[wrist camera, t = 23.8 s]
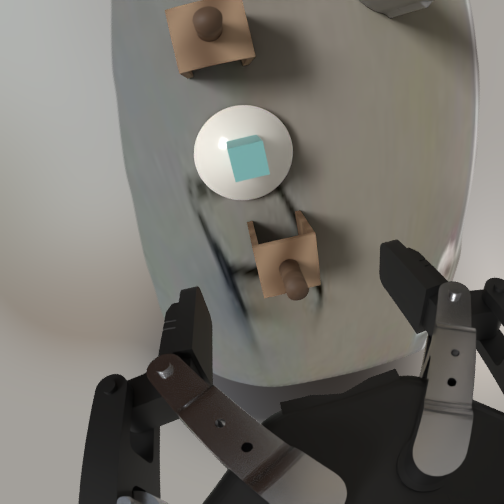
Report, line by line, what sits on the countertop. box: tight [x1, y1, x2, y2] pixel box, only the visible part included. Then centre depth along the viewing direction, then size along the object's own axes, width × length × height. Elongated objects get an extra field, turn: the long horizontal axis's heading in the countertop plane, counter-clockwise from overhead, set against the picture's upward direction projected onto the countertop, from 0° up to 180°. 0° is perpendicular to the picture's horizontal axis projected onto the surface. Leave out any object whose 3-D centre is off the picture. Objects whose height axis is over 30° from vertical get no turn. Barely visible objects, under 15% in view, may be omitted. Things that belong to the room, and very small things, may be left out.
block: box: [226, 135, 270, 182], centre depth 35 cm, size 4×4×6 cm
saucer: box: [194, 105, 293, 200], centre depth 38 cm, size 13×13×1 cm
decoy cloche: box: [247, 210, 321, 300], centre depth 40 cm, size 8×8×13 cm
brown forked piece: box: [165, 0, 256, 78], centre depth 25 cm, size 8×8×13 cm
